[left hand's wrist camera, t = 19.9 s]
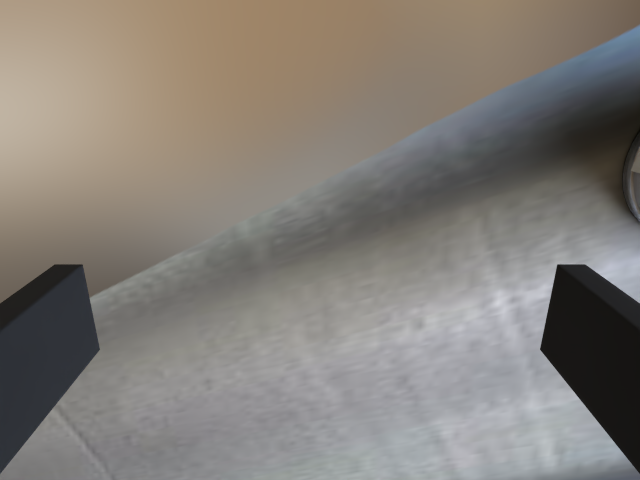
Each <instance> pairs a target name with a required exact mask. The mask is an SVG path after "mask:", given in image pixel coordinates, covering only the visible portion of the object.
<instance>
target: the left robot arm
mask: <svg viewBox="0 0 640 480" xmlns="http://www.w3.org/2000/svg"><path fill="white" fill-rule="evenodd" d="M623 191H624V196H625V200H626V202H627V205H628V207H629V209H630V211H631V212H632V213H633V215H634V216H635V217H636V218H637V219H638V220H639V221H640V132H639V133H638V135H637V136H636V138H635V140H634V142H633V144H632V146H631V148H630V150H629V152H628V155H627V158H626V161H625V165H624V171H623ZM99 350H100V348H99V343H98V338H97V333H96V328H95V323H94V318H93V313H92V309H91V304H90V299H89V294H88V289H87V284H86V279H85V274H84V269H83V265H54V266H52V267H51V268H49V269H48V270H47V271H45V272H44V273H42V274H41V275H40V276H38V277H37V278H35V279H34V280H33V281H31V282H30V283H28V284H27V285H26V286H24V287H23V288H21V289H20V290H19V291H17V292H16V293H14V294H13V295H12V296H10V297H9V298H7V299H6V300H5V301H3V302H2V303H0V473H1V472H2V471H3V470H4V468H5V467H6V466H7V465H8V463H9V462H10V461H11V460H12V458H13V457H14V456H15V455H16V453H17V452H18V451H19V450H20V448H21V447H22V446H23V445H24V443H25V442H26V441H27V440H28V438H29V437H30V436H31V435H32V433H33V432H34V431H35V430H36V428H37V427H38V426H39V425H40V423H41V422H42V421H43V420H44V418H45V417H46V416H47V415H48V413H49V412H50V411H51V410H52V408H53V407H54V406H55V405H56V403H57V402H58V401H59V400H60V399H61V397H62V396H63V395H64V394H65V392H66V391H67V390H68V389H69V387H70V386H71V385H72V384H73V382H74V381H75V380H76V379H77V377H78V376H79V375H80V374H81V372H82V371H83V370H84V369H85V367H86V366H87V365H88V364H89V362H90V361H91V360H92V359H93V357H94V356H95V355H96V354H97V352H98V351H99ZM540 350H541V351H542V352H543V354H544V355H545V356H546V357H547V359H548V360H549V361H550V362H551V364H552V365H553V366H554V367H555V369H556V370H557V371H558V372H559V374H560V375H561V376H562V377H563V379H564V380H565V381H566V382H567V384H568V385H569V386H570V387H571V389H572V390H573V391H574V392H575V394H576V395H577V396H578V397H579V399H580V400H581V401H582V402H583V404H584V405H585V406H586V407H587V408H588V410H589V411H590V412H591V413H592V415H593V416H594V417H595V418H596V420H597V421H598V422H599V423H600V425H601V426H602V427H603V428H604V430H605V431H606V432H607V433H608V435H609V436H610V437H611V438H612V440H613V441H614V442H615V443H616V445H617V446H618V447H619V448H620V450H621V451H622V452H623V453H624V455H625V456H626V457H627V458H628V460H629V461H630V462H631V463H632V465H633V466H634V467H635V468H636V470H637V471H638V472H639V473H640V303H638V302H637V301H635V300H634V299H633V298H631V297H630V296H628V295H627V294H626V293H624V292H623V291H621V290H620V289H619V288H617V287H616V286H614V285H613V284H612V283H610V282H609V281H607V280H606V279H605V278H603V277H602V276H600V275H599V274H598V273H596V272H595V271H593V270H592V269H591V268H589V267H588V266H586V265H557V269H556V274H555V279H554V284H553V289H552V294H551V299H550V304H549V309H548V313H547V318H546V323H545V328H544V333H543V338H542V343H541V348H540Z"/></svg>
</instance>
